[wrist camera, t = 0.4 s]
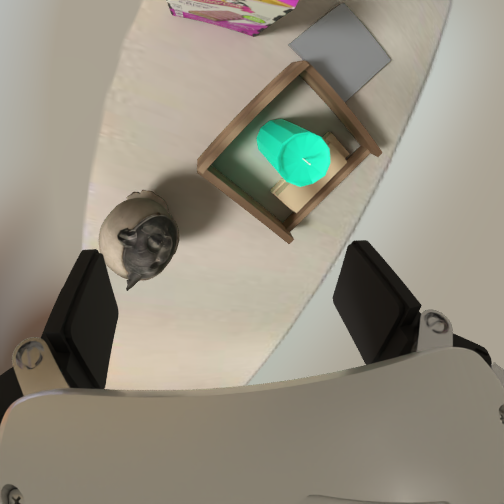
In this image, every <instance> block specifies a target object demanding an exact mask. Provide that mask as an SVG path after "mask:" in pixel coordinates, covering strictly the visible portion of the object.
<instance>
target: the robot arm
mask: <svg viewBox="0 0 504 504" xmlns="http://www.w3.org/2000/svg"><path fill="white" fill-rule="evenodd" d="M333 302H334V305H335V307H336V309H337V310H338V312H339V314H340V316H341V318H342V320H343V322H344V323H345V325H346V327H347V329H348V331H349V333H350V335H351V336H352V339H353V340H354V342H355V344H356V346H357V348H358V350H359V352H360V354H361V356H362V358H363V360H364V362H365V364H366V365H364V366H360V367H356V368H351V369H347V370H342V371H337V372H333V373H327V374H322V375H317V376H311V377H306V378H300V379H294V380H287V381H280V382H273V383H265V384H257V385H248V386H238V387H226V388H213V389H196V390H109V389H104V388H105V385H106V378H107V372H108V366H109V360H110V354H111V349H112V344H113V339H114V334H115V329H116V324H117V320H118V306H117V303H116V300H115V297H114V293H113V290H112V286H111V283H110V279H109V276H108V272H107V268H106V264H105V260H104V256H103V254H102V253H99V252H98V250H96V249H93V250H82V251H81V253H80V255H79V257H78V259H77V261H76V263H75V265H74V266H73V268H72V270H71V272H70V274H69V276H68V278H67V281H66V282H65V285H64V287H63V288H62V289H61V292H60V294H59V296H58V298H57V301H56V303H55V305H54V307H53V309H52V312H51V314H50V317H49V319H48V321H47V324H46V326H45V329H44V331H43V334H42V336H41V338H36V337H32V338H28V339H25V340H24V341H22V342H21V343H20V344H19V345H18V346H17V347H16V348H15V351H14V353H13V357H12V363H13V367H12V368H11V369H9V370H8V371H6V372H5V373H3V374H2V375H0V504H504V370H503V369H502V368H501V367H500V366H498V365H497V364H496V363H493V364H492V363H491V358H490V356H489V354H488V351H487V350H486V349H485V348H484V347H482V346H480V345H478V344H476V343H473V342H471V341H469V340H467V339H464V338H462V337H460V336H458V335H456V334H453V332H452V331H453V329H452V325H451V323H450V321H449V319H448V318H447V317H446V316H445V315H443V314H442V313H440V312H438V311H436V310H425V311H424V312H423V313H422V314H421V313H420V312H419V310H420V308H421V304H420V303H419V302H418V300H417V299H416V298H415V297H414V296H413V294H412V293H411V291H410V290H409V289H408V288H407V286H406V285H405V284H404V283H403V282H402V280H401V279H400V278H399V277H398V276H397V274H396V273H395V272H394V271H393V270H392V268H391V267H390V266H389V265H388V264H387V263H386V262H385V260H384V259H383V258H382V257H381V256H380V254H379V253H378V252H377V251H376V250H375V249H374V248H373V246H371V244H370V243H369V242H368V241H366V240H363V241H353V242H352V243H351V244H350V245H349V246H348V247H347V251H346V254H345V258H344V261H343V265H342V268H341V272H340V275H339V278H338V282H337V285H336V288H335V291H334V295H333ZM491 364H492V365H491Z"/></svg>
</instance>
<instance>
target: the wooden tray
mask: <svg viewBox="0 0 504 504" xmlns="http://www.w3.org/2000/svg"><path fill="white" fill-rule="evenodd" d="M298 75H300V77H301V78H302V79H303V80H304V81H305V82H306V83H307V84H308V85H309V86H310V87H311V88H312V89H313V90H314V91H315V92H316V93H317V94H318V95H319V97H320V98H321V99H322V100H323V101H324V102H325V103H326V104H327V105H328V107H329V108H330V109H331V110H332V111H333V112H334V113H335V115H336V116H337V117H338V118H339V119H340V121H341V122H342V123H343V124H344V125H345V127H346V128H347V129H348V130H349V131H350V133H351V134H352V135H353V136H354V138H355V139H356V140H357V142H358V143H359V144H360V145H361V146H360V147H359V148H358V149H357V150H356V151H355V152H354V153H353V154H352V155H351V156H350V157H349V158H348V159H347V160H346V161H347V163H346V164H345V165H344V166H343V167H342V168H341V169H340V170H339V171H338V172H337V173H336V174H335V175H334V176H333V177H332V178H331V179H330V180H329V181H328V182H327V183H326V184H325V185H324V186H323V187H322V188H321V189H320V190H319V191H318V192H317V193H316V194H315V195H314V196H313V197H312V198H311V199H310V200H309V201H308V202H307V203H306V204H305V205H304V206H303V207H302V208H301V209H300V210H299V211H298V212H297V213H296V212H293V213H292V214H291V215H290V216H289V217H288V218H287V219H286V220H285V221H284V222H283V223H282V222H281V221H280V220H278V219H277V218H276V217H275V216H274V215H272V214H271V213H270V212H269V211H268V210H266V209H265V208H264V207H263V206H262V205H260V204H259V203H258V202H257V201H255V200H254V199H253V198H252V197H251V196H249V195H248V194H247V193H246V192H244V191H243V190H242V189H241V188H239V187H238V186H237V185H236V184H234V183H233V182H232V181H231V180H229V179H228V178H227V177H226V176H224V175H223V174H222V173H221V172H219V171H218V170H217V169H215V168H214V167H213V166H212V165H211V164H212V163H213V162H214V160H215V159H216V158H217V157H218V156H219V155H220V154H221V153H222V152H223V150H224V149H225V148H226V147H227V146H228V145H229V144H230V143H231V142H232V141H233V140H234V139H235V137H236V136H237V135H238V134H239V133H240V132H241V131H242V130H243V129H244V128H245V127H246V126H247V125H248V124H249V123H250V122H251V121H252V120H253V119H254V118H255V117H256V116H257V115H258V114H259V113H260V112H261V111H262V110H263V109H264V108H265V107H266V106H267V105H268V104H269V103H270V102H271V101H272V100H273V99H274V98H275V97H276V96H277V95H278V94H279V93H280V92H281V91H282V90H283V89H284V88H285V87H286V86H287V85H288V84H289V83H290V82H292V81H293V80H294V79H295V78H296V77H297V76H298ZM370 153H371V154H373V155H375V156H377V157H379V156H380V155H381V154H382V151H381V150H380V148H379V147H378V145H377V144H376V143H375V141H374V140H373V138H372V137H371V136H370V134H369V133H368V132H367V130H366V129H365V128H364V126H363V125H362V124H361V122H360V121H359V120H358V118H357V117H356V116H355V115H354V113H353V112H352V111H351V110H350V108H349V107H348V106H347V105H346V104H345V102H344V101H343V100H342V99H341V98H340V96H339V95H338V94H337V93H336V92H335V91H334V89H333V88H332V87H331V86H330V85H329V84H328V83H327V81H326V80H325V79H324V78H323V77H322V76H321V75H320V74H319V73H318V72H317V71H316V69H315V68H314V67H313V66H312V65H311V64H310V63H309V62H308V61H305V60H304V61H298V62H293V63H291V64H290V65H289V66H287V67H286V68H285V69H284V70H283V71H282V72H281V73H280V74H279V75H278V76H277V77H276V78H274V79H273V80H272V81H271V82H270V83H269V84H268V85H267V86H266V87H265V88H264V89H263V90H262V91H261V92H260V93H259V94H258V95H257V96H256V97H255V98H254V99H253V100H252V101H251V102H250V103H249V104H248V105H247V106H246V107H245V108H244V109H243V110H242V111H241V112H240V113H239V114H238V115H237V116H236V117H235V118H234V119H233V120H232V121H231V123H230V124H229V125H228V126H227V127H226V128H225V129H224V130H223V131H222V132H221V133H220V134H219V136H218V137H217V138H216V139H215V140H214V141H213V142H212V143H211V144H210V146H209V147H208V148H207V149H206V150H205V151H204V152H203V154H202V155H201V156H200V157H199V158H198V160H197V173H198V174H200V175H201V176H202V177H204V178H205V179H206V180H208V181H209V182H210V183H212V184H213V185H214V186H215V187H217V188H218V189H219V190H221V191H222V192H223V193H225V194H226V195H227V196H229V197H230V198H231V199H232V200H234V201H235V202H236V203H238V204H239V205H240V206H241V207H243V208H244V209H245V210H247V211H248V212H249V213H250V214H252V215H253V216H254V217H255V218H257V219H258V220H259V221H261V222H262V223H263V224H264V225H266V226H267V227H268V228H269V229H271V230H272V231H273V232H274V233H276V234H277V235H278V236H279V237H281V238H282V239H283V240H284V241H286V242H287V243H288V244H290V243H291V242H292V241H293V240H294V239H293V237H292V235H291V233H290V231H291V230H292V229H293V228H295V227H296V226H297V225H298V224H299V223H300V222H301V221H302V220H303V219H304V218H305V217H306V216H307V215H308V214H309V213H310V212H311V211H312V210H313V209H314V208H315V207H316V206H317V205H318V204H319V203H320V202H321V201H322V200H323V199H324V198H325V197H326V196H327V195H328V194H329V193H330V192H331V191H332V190H333V189H334V188H335V187H336V186H337V185H338V184H339V183H340V182H341V181H342V180H344V179H345V178H346V177H347V176H348V175H349V174H350V173H351V172H352V171H353V170H354V169H355V168H356V167H357V166H358V165H359V164H360V163H361V162H362V161H363V160H364V159H365V158H366V157H367V156H368V155H369V154H370Z"/></svg>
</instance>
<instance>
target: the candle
mask: <svg viewBox="0 0 504 504" xmlns="http://www.w3.org/2000/svg"><path fill="white" fill-rule="evenodd" d="M256 139H257V144H258V149H259V151H260V152H261V153H262V154H263V155H264V156H265V157H266V159H267V160H268V161H269V162H270V163H271V164H272V166H273V167H274V168H275V169H276V170H277V171H278V173H279V174H280V175H281V176H282V177H283V178H284V180H285V181H286V182H288V183H291V184H293V185H296V186H298V187H303V186H306V185H310V184H313V183H315V182H316V181H318V180H320V179H321V178H323V177H324V176H325V175H326V173H327V170H328V168H329V166H330V163H331V160H330V149H329V147H328V146H327V144H326V143H325V142H324V140H323V139H322V137H320V136H318V135H316V134H314V133H312V132H310V131H308V130H306V129H304V128H302V127H299V126H297V125H295V124H293V123H291V122H288V121H286V120H283V119H276V120H270V121H268V122H267V123H266V124H265V125H263V126H262V127H261V128H260V131H259V133H258V136H257V138H256Z"/></svg>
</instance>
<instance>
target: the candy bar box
mask: <svg viewBox="0 0 504 504" xmlns="http://www.w3.org/2000/svg"><path fill="white" fill-rule="evenodd" d="M166 1H167V3H168V6H169V8H170V11H171V14H172V15H174V16H179V17H184V18H189V19H194V20H198V21H203V22H207V23H210V24H214V25H218V26H221V27H225V28H228V29H232V30H235V31H238V32H241V33H244V34H247V35H250V36H253V37H254V36H256V35H257V34H259V33H260V32H261V31H263V30H264V29H265V28H267V27H268V26H270V25H271V24H272V23H274V22H275V21H277V20H278V19H280V18H281V17H283V16H284V15H286V14H287V13H289V12H291V11H292V10H293V9H295V7H296V5H297V3H298V1H299V0H166Z"/></svg>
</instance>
